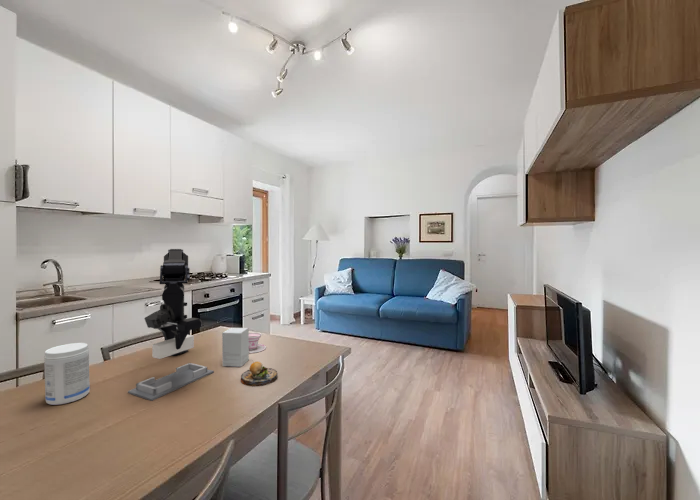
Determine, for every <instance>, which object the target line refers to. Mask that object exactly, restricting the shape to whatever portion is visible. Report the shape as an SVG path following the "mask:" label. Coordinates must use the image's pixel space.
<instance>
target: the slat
mask: <svg viewBox="0 0 700 500" xmlns="http://www.w3.org/2000/svg"><path fill="white" fill-rule="evenodd" d="M151 347H152V351H151V354H152V355H151V356H152V358H155V359H158V360H161V359H163V358H166V357H170V356H172V355H173V354H176V353H179V352H182V351H185V350H188V351H189V350H190V349H193V348H194V347H195V336H194V335H192V334H190V335H187V336H186V338H185V340H184V342H183V344H182V346H181V348H180V349H178V350H177V349H176V343H175V338H173V339H169V340H164V341H163V340H162V341H159V342H155V343H153V344H152V345H151Z"/></svg>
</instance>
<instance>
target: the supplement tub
mask: <svg viewBox="0 0 700 500" xmlns="http://www.w3.org/2000/svg"><path fill="white" fill-rule="evenodd" d="M43 358H44V359H43V361H44V365H43V366H44V388H45V390H44V391H45V392H44V393H45V397H44V398H45V402H46V404H48V405H53V406H55V405H56V406H58V405H65V404H69V403H71V402H76V401H79V400H81V399H82V398H84V397H86V396H87V395H88V394H89V393H90V390H91V388H90V386H91V385H90V351H89V345H88V343H86V342H73V343H66V344H62V345H57V346H53V347H50V348H48V349H46V350H45V351H44V357H43Z"/></svg>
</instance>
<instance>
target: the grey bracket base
mask: <svg viewBox="0 0 700 500" xmlns="http://www.w3.org/2000/svg"><path fill="white" fill-rule="evenodd" d="M214 372H215V370H212V369H208V366H204V365H201V364H196V363H192V362H187V363H186V364H184V365H181V366H179V367H176V368H175V371H174V372H172V373H169V374H168V375H165V376H162V377H159V378H156V377H154V376H153V377H150V378H148V379H145V380H142V381H139V382H136V384H135V387H134V388H132V389H129V390H127V394H129V395H132V396H135V397H138V398H142V399H145V400H148V401H152V402H153V401H155V400H157V399H159V398H162V397H163V396H165V395H168V394H169V393H172V392H174V391H176V390H179V389H181V388H183V387H185V386H187V385H189V384H191V383H193V382H195V381H199V380H201V379H202V378H203V379H204V378H205V377H206V376H209V375H212V374H214Z"/></svg>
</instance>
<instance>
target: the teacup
mask: <svg viewBox="0 0 700 500" xmlns="http://www.w3.org/2000/svg"><path fill="white" fill-rule="evenodd" d="M262 335H263V334H262V333H261V332H255V331H254V332H253V331H252V332H249V354H255V353H256V354H257V353H260V352H263V351H264V350H266V349H267V346H266V345H265V344H262V343H259V341H260V338H261V337H262Z"/></svg>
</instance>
